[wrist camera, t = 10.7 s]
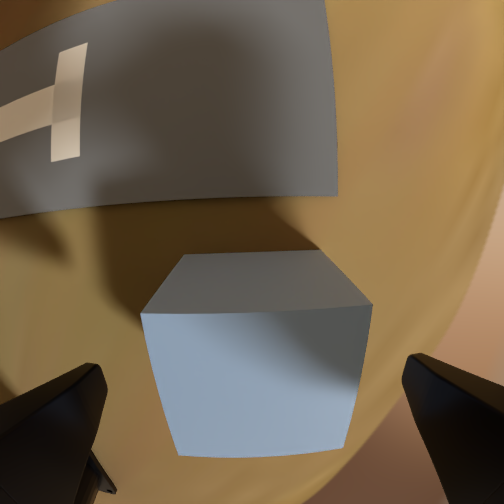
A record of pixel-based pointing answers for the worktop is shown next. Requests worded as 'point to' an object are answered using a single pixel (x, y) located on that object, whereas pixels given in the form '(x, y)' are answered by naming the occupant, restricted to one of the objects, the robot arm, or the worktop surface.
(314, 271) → the slate blue cube
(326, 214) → the worktop surface
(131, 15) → the letter mat
